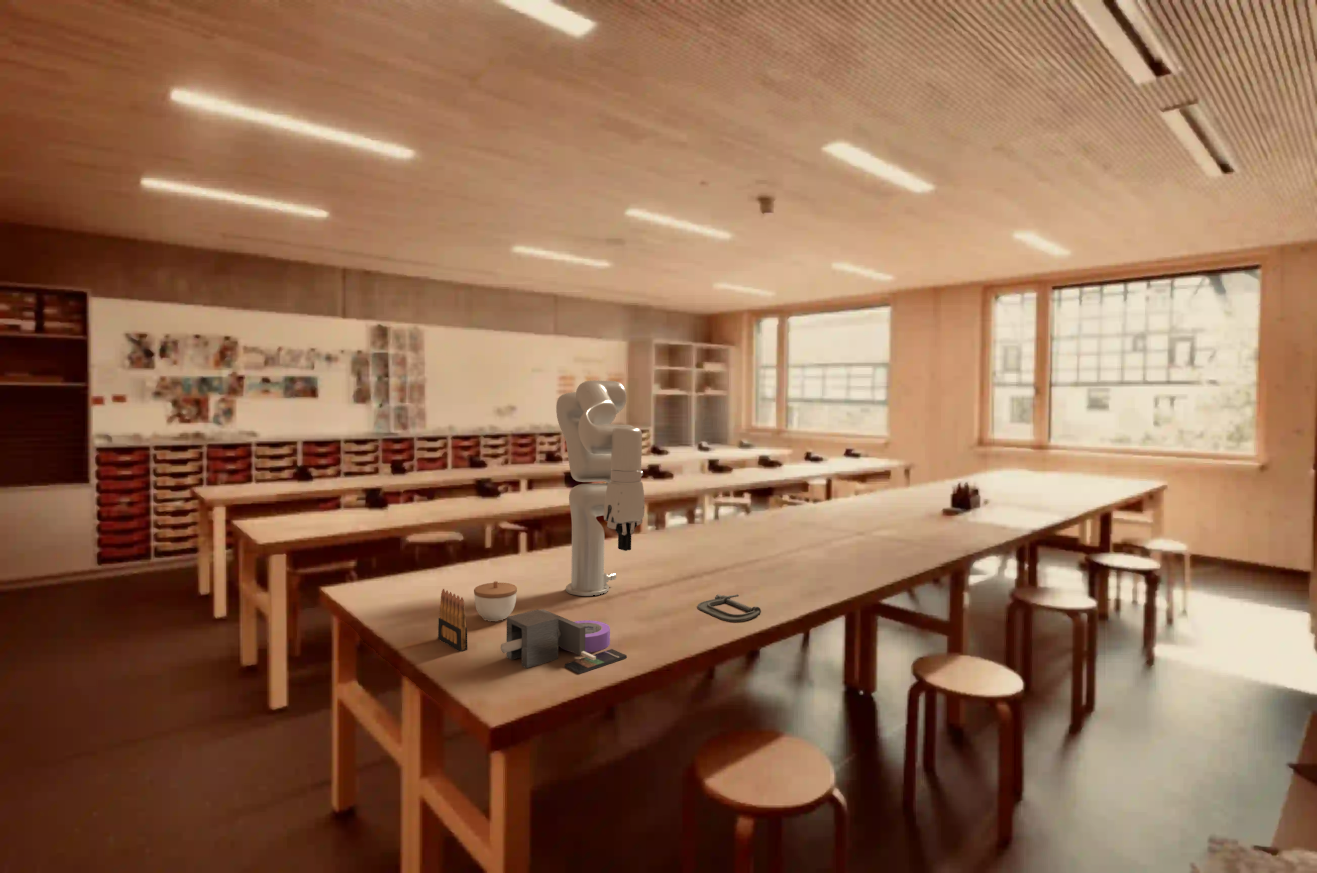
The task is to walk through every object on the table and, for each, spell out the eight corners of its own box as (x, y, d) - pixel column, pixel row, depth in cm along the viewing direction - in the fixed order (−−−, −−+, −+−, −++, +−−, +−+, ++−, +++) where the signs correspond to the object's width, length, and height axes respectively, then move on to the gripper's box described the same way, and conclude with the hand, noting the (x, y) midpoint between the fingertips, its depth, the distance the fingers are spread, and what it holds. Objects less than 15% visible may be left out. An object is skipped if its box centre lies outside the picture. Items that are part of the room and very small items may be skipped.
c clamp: (686, 604, 190) (686, 595, 190) (737, 597, 198) (737, 588, 198) (726, 627, 172) (726, 616, 172) (780, 617, 180) (781, 607, 180)
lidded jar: (523, 613, 178) (523, 577, 178) (506, 626, 168) (506, 589, 167) (485, 609, 180) (485, 575, 180) (466, 622, 170) (466, 585, 169)
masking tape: (548, 644, 157) (549, 627, 157) (587, 631, 166) (587, 616, 165) (581, 657, 149) (582, 640, 149) (620, 644, 158) (620, 628, 157)
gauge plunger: (543, 634, 159) (543, 609, 159) (597, 659, 145) (597, 631, 144) (483, 650, 148) (483, 623, 148) (535, 679, 134) (536, 649, 134)
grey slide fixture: (578, 636, 161) (578, 599, 161) (626, 657, 149) (627, 617, 148) (506, 657, 148) (506, 616, 147) (553, 682, 135) (553, 638, 135)
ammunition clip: (437, 639, 158) (437, 588, 158) (445, 637, 160) (445, 587, 159) (460, 652, 151) (460, 598, 150) (467, 649, 152) (467, 597, 151)
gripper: (638, 473, 176) (636, 542, 177) (592, 477, 166) (591, 551, 167) (658, 476, 171) (656, 548, 172) (612, 480, 160) (611, 557, 162)
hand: (624, 549), depth 170 cm, fingers closed
